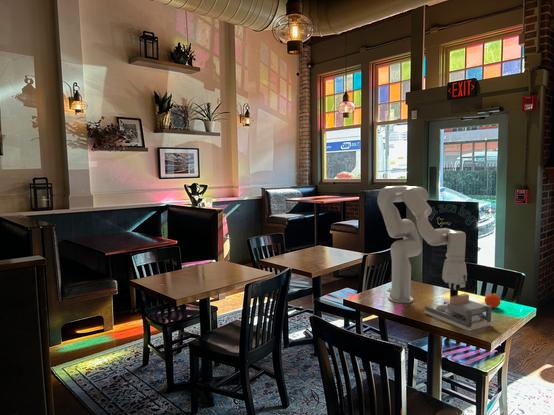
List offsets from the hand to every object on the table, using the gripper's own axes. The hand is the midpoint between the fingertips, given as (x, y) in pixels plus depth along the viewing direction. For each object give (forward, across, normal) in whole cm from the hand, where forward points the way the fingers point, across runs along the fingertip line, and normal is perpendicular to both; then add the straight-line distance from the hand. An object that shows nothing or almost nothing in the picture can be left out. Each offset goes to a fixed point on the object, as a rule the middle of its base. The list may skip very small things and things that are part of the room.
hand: (453, 297), depth 189 cm
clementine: (+10, 0, +29) cm, 31 cm away
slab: (+4, +7, 0) cm, 8 cm away
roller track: (+10, +2, 0) cm, 10 cm away
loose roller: (+8, +10, 0) cm, 13 cm away
